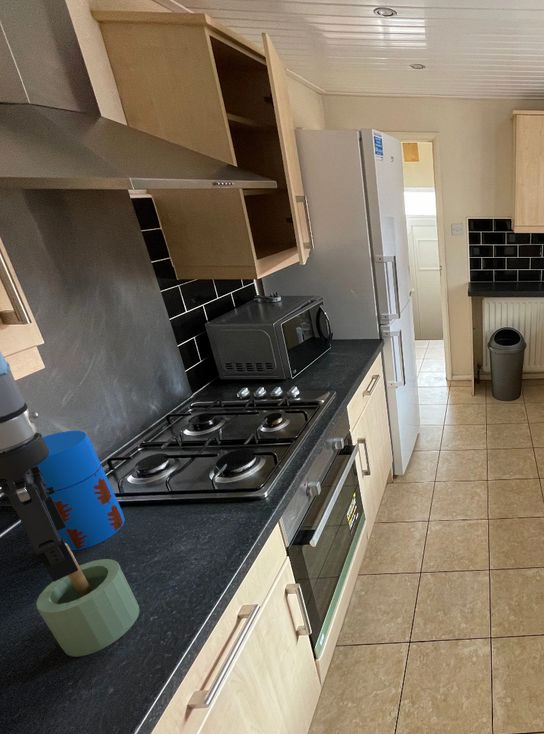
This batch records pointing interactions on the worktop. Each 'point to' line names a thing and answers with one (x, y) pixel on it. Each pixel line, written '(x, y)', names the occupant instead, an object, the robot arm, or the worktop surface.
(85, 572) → the green faceted pot
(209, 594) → the worktop surface
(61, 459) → the thermos
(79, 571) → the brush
